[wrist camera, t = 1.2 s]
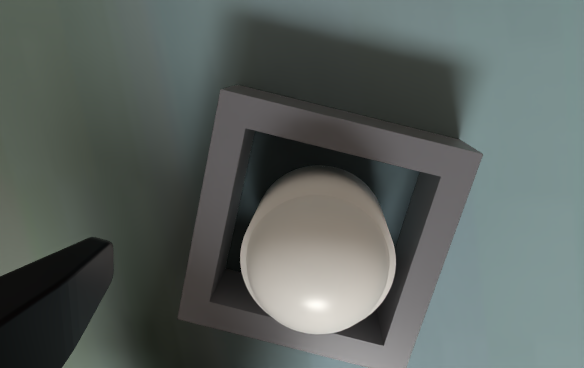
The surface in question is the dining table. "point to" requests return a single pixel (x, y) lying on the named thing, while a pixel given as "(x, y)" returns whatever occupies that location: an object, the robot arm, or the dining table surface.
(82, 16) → the dining table surface
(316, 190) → the dome
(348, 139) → the box
